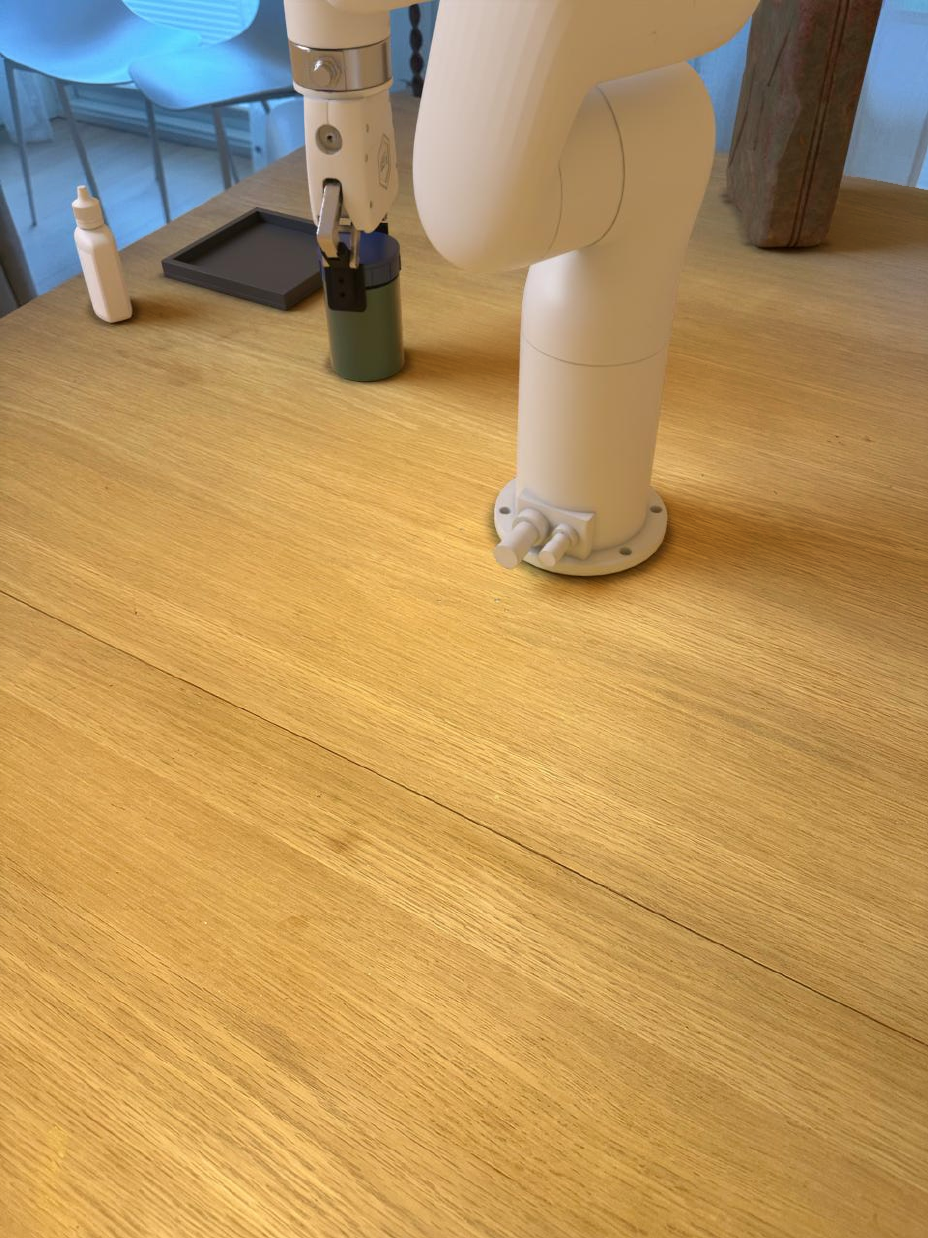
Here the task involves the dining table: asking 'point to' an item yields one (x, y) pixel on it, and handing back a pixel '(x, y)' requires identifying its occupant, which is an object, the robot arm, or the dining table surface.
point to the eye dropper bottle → (100, 260)
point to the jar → (368, 335)
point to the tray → (254, 259)
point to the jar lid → (374, 257)
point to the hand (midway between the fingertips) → (360, 286)
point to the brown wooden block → (797, 115)
